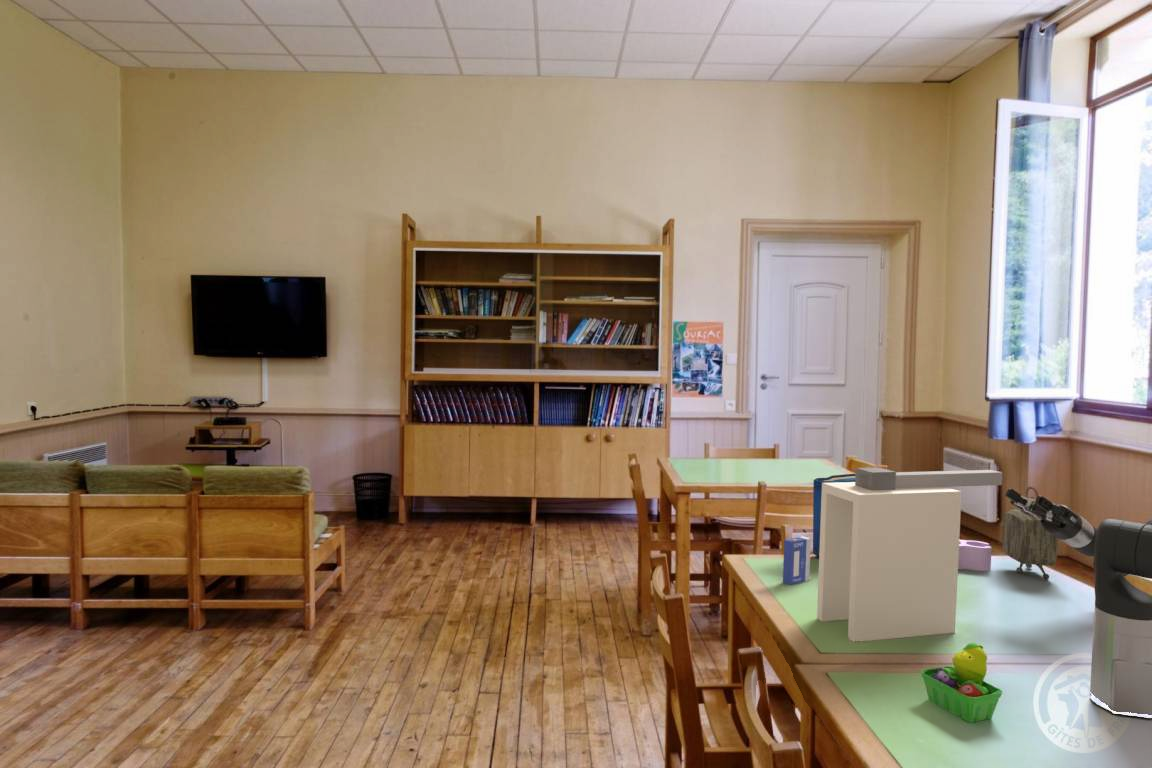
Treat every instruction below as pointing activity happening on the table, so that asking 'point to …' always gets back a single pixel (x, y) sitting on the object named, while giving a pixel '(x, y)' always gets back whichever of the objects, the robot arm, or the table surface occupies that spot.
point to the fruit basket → (963, 685)
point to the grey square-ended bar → (924, 478)
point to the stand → (889, 560)
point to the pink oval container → (974, 555)
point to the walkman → (796, 560)
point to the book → (817, 504)
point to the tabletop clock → (1028, 539)
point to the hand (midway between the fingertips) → (1022, 495)
